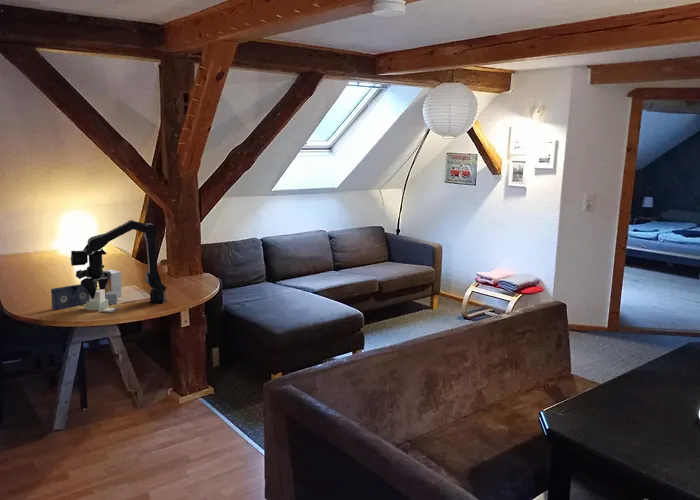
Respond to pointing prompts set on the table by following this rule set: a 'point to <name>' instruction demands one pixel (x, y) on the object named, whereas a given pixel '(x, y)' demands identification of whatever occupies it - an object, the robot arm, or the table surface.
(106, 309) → the swatch
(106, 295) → the slate cube
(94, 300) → the cream cube
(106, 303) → the sage block
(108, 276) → the robot arm
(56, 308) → the vhs cassette tape
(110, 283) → the small box
